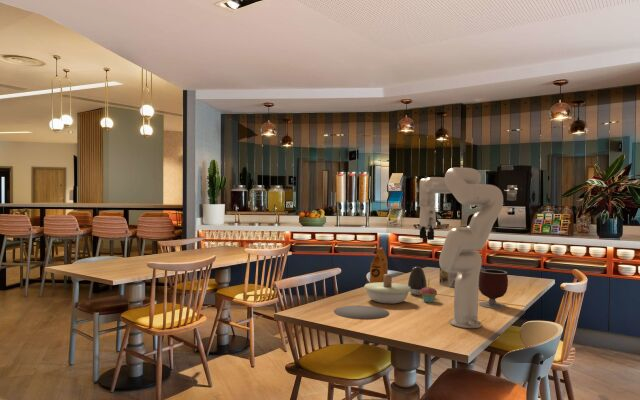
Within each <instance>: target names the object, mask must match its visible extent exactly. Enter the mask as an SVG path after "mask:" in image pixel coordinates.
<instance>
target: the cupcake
mask: <svg viewBox="0 0 640 400" xmlns="http://www.w3.org/2000/svg"><path fill="white" fill-rule="evenodd" d="M420 294H422V295H421V296H422V299H423V302H425V303H434V300H435V298H436V296H438V291H437V290H436V289H435V288H433V287H430V279H428V280H427V287H425V288H423V289H421V290H420Z"/></svg>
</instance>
